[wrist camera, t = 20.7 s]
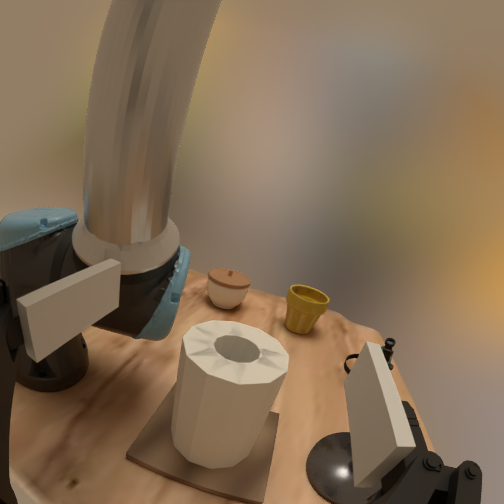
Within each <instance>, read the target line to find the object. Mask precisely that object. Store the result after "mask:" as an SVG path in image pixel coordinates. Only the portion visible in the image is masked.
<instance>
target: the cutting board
mask: <svg viewBox="0 0 504 504" xmlns="http://www.w3.org/2000/svg"><path fill="white" fill-rule="evenodd" d="M175 389H176V383H175V385H174V386H173V388H172V389H171V390H170V392H169V393H168V395H167V396H166V397H165V399H164V400H163V402H162V403H161V405H160V406H159V407H158V409H157V410H156V412H155V413H154V414H153V416H152V417H151V419H150V420H149V422H148V423H147V424H146V426H145V427H144V429H143V430H142V431H141V433H140V434H139V436H138V437H137V438H136V440H135V441H134V443H133V444H132V445H131V447H130V448H129V450H128V451H127V452H126V457H127V458H128V459H130V460H132V461H134V462H136V463H138V464H140V465H142V466H144V467H146V468H148V469H150V470H152V471H154V472H157V473H159V474H161V475H163V476H166V477H168V478H171V479H173V480H175V481H178V482H181V483H183V484H186V485H189V486H191V487H194V488H197V489H200V490H203V491H206V492H209V493H212V494H216V495H219V496H222V497H226V498H230V499H233V500H237V501H241V502H246V503H250V504H262V503H263V500H264V496H265V491H266V486H267V481H268V476H269V471H270V466H271V460H272V455H273V449H274V444H275V438H276V432H277V426H278V420H279V414H278V413H274V412H269V414H268V416H267V418H266V420H265V422H264V424H263V427H262V429H261V431H260V433H259V435H258V437H257V439H256V441H255V443H254V445H253V447H252V449H251V451H250V453H249V455H248V456H247V457H246V458H245V459H243V460H242V461H240V462H239V463H238V464H236V465H235V466H233V467H226V468H216V469H210V468H207V467H204V466H201V465H198V464H195V463H192V462H190V461H188V460H187V459H186V458H185V457H184V456H183V455H182V454H181V453H180V452H179V451H178V450H177V449H176V448H175V447H174V444H173V439H172V433H171V423H172V414H173V405H174V397H175Z"/></svg>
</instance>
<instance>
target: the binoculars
mask: <svg viewBox="0 0 504 504" xmlns="http://www.w3.org/2000/svg"><path fill="white" fill-rule="evenodd" d="M394 345H395V340H394V339H392V338H387V339H386V341H385V346H382V347H381V349H382V352H383V354H384V357H385V359H386V362H387V364H388V367H389V369H390V370H392V369H393V365H392V364H391V363H390V362H391V359H392V354H393V351H392V347H393V346H394ZM358 356H359V354H352V355H349V356H348V357H347V358H346V360H345V363H344V369H345V371H346V372H347V373H348V374H349V373H350V371H351V370H350V369H349V368H348V367H347V365H346V361H347V360H348V359H351V358H358Z"/></svg>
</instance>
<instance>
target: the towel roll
mask: <svg viewBox="0 0 504 504" xmlns="http://www.w3.org/2000/svg"><path fill="white" fill-rule="evenodd" d="M288 361H289V355H288V354H287V352H286V351H285V349H284V348H283V347H282V345H281V344H280V343H279V341H278V340H276V339H274V338H273V337H271V336H270V335H268V334H266V333H265V332H263V331H262V330H260V329H258V328H254V327H251V326H248V325H245V324H242V323H238V322H232V321H217V320H211V321H208V322H204V323H200V324H196V325H193V326H192V327H191V328H190V330H189V331H188V332H187V333H186V334H185V335H184V337H183V339H182V346H181V352H180V359H179V366H178V373H177V381H176V389H175V397H174V405H173V414H172V423H171V433H172V439H173V444H174V447H175V448H176V449H177V450H178V451H179V452H180V453H181V454H182V455H183V456H184V457H185V458H186V459H187V460H188V461H190V462H192V463H195V464H198V465H201V466H204V467H207V468H210V469H216V468H226V467H233V466H235V465H236V464H238V463H239V462H240V461H242V460H243V459H245V458H246V457H247V456H248V455H249V453H250V451H251V449H252V447H253V445H254V443H255V441H256V439H257V437H258V435H259V433H260V431H261V429H262V427H263V424H264V422H265V420H266V418H267V416H268V414H269V412H270V410H271V407H272V405H273V403H274V401H275V398H276V396H277V394H278V392H279V389H280V387H281V385H282V383H283V380H284V378H285V375H286V373H287V369H288Z"/></svg>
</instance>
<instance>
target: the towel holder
mask: <svg viewBox="0 0 504 504" xmlns="http://www.w3.org/2000/svg"><path fill="white" fill-rule="evenodd" d="M306 471H307V476H308V479H309V481H310V483H311V485H312V487H313V488H314V489H315V491H316V492H317V493H318V494H319V495H320V496H322V497H323V498H324V499H326V500H327V501H329V502H331V503H333V504H367V502H368V501H367V500H366V499H368V498H369V497H370V496H372V495H373V494H374V493H375V492H377V491H378V490H379V489H381V488H382V485H381V480H380V481H379V482H378V483H377V484H375V485H374V486H373V487H354V475H353V461H352V448H351V437H350V432H341V433H335V434H331V435H328V436H326V437H324V438H322V439H321V440H320V441H319V442H317V443H316V445H315V446H314V447H313V449H312V450H311V451H310V453H309V455H308V458H307V462H306Z"/></svg>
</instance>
